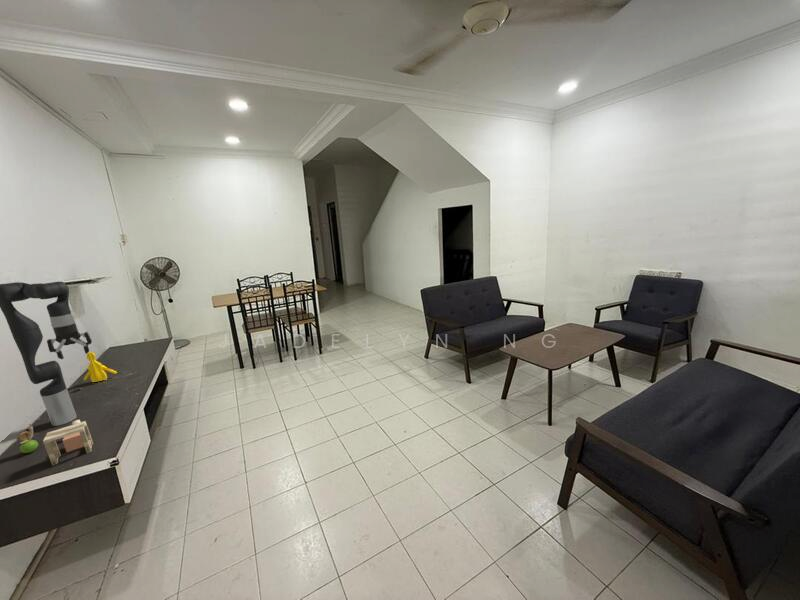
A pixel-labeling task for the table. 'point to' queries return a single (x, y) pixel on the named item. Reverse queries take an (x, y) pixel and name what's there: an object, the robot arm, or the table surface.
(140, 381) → the table surface
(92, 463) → the table surface
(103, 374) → the figure statuette
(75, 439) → the cube base joystick
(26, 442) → the snail figurine
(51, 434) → the beige u-shaped block
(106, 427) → the table surface
